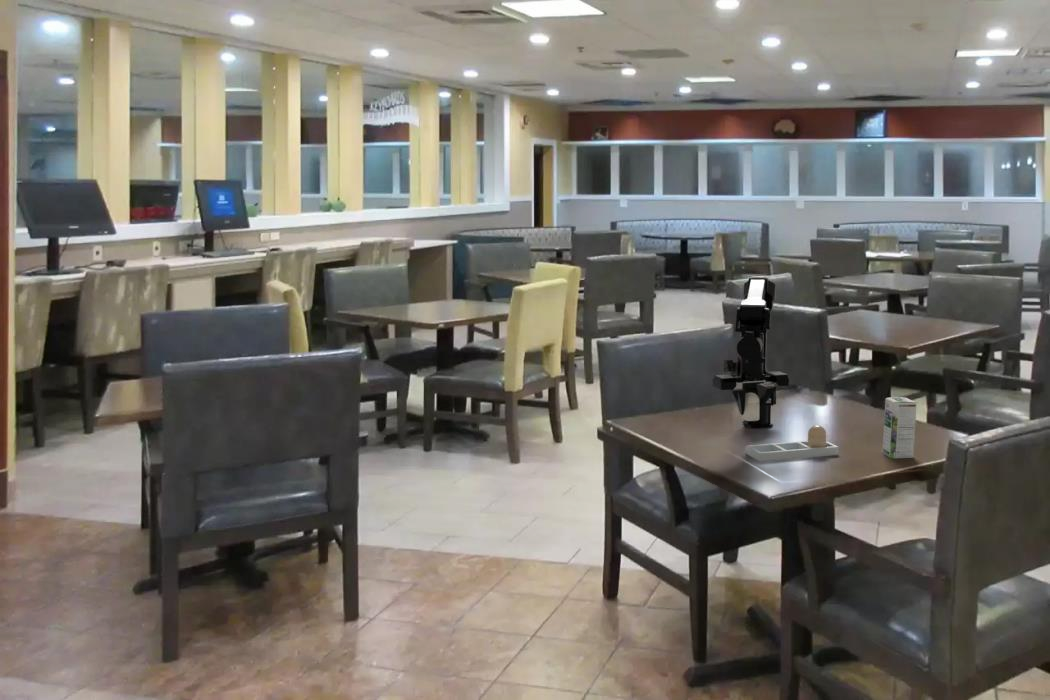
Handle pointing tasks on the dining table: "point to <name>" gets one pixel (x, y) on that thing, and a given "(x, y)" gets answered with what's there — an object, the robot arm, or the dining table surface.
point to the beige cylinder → (816, 437)
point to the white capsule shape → (751, 407)
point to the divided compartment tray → (789, 451)
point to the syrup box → (899, 427)
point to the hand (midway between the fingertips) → (750, 414)
